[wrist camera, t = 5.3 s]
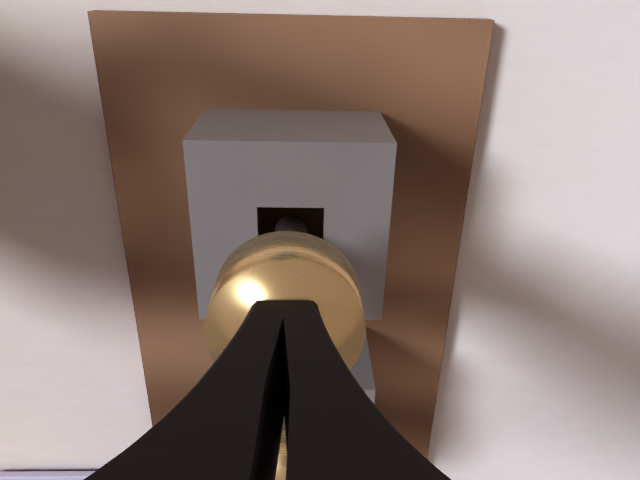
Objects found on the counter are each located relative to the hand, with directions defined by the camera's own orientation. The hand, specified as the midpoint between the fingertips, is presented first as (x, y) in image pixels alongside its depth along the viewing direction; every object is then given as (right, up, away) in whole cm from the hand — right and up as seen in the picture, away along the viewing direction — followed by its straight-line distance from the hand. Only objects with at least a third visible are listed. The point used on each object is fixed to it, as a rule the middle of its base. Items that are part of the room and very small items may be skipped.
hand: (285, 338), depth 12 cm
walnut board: (0, 0, +11) cm, 11 cm away
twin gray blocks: (0, 0, +11) cm, 11 cm away
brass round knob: (0, +2, +5) cm, 6 cm away
